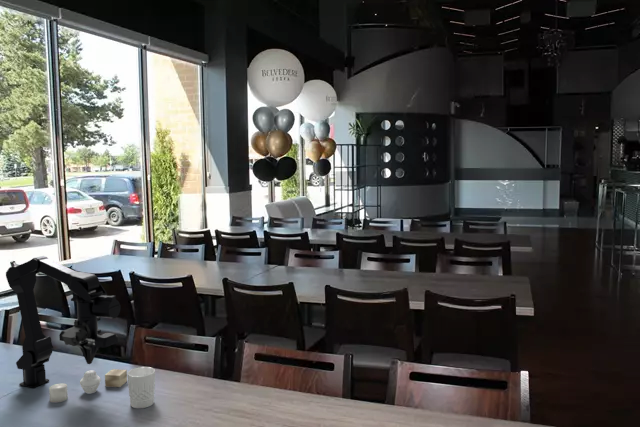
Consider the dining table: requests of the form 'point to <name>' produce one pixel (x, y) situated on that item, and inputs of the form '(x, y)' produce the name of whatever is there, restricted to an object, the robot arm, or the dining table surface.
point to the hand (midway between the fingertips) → (89, 363)
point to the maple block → (115, 378)
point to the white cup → (141, 386)
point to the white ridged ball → (90, 382)
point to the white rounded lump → (58, 393)
